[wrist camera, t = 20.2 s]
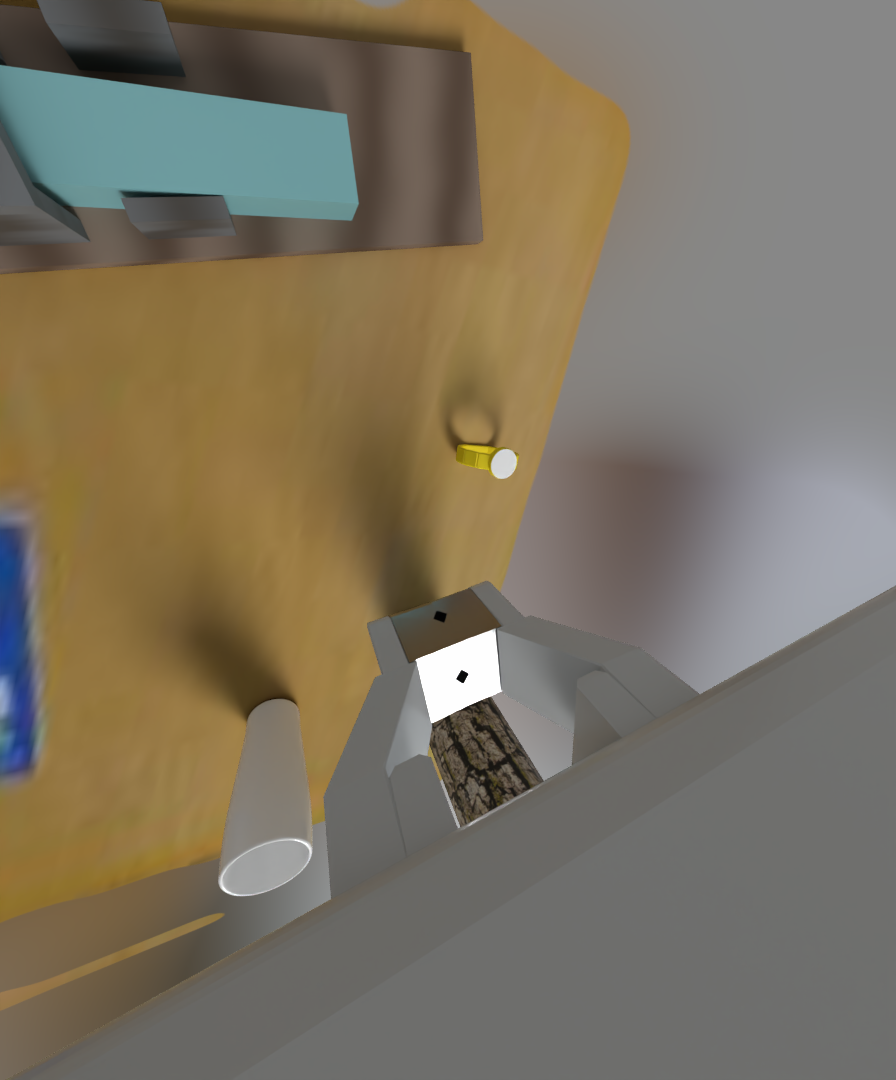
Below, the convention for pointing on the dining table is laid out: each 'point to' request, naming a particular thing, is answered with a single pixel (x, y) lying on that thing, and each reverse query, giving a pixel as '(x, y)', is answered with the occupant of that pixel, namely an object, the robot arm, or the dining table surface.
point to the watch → (488, 459)
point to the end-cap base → (264, 76)
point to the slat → (175, 146)
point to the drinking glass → (268, 805)
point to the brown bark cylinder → (480, 759)
